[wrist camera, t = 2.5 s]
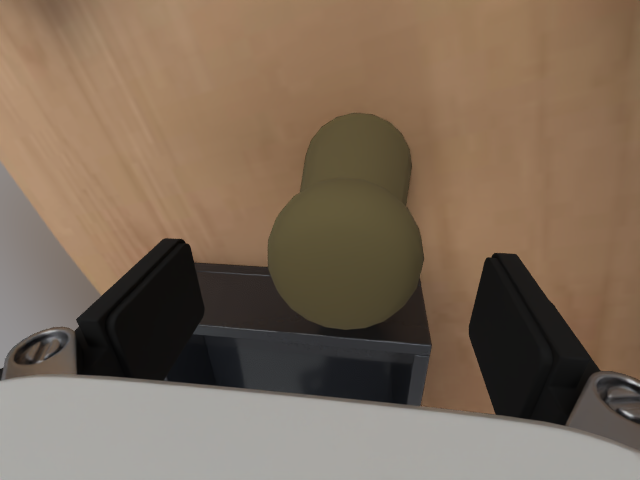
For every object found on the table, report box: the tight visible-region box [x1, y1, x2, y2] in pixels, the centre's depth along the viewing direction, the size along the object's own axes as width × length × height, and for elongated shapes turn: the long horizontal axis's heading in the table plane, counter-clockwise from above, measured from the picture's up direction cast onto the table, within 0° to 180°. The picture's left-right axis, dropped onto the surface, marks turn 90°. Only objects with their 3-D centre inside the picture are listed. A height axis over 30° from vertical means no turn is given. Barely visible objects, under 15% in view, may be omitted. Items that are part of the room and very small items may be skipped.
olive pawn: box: [268, 113, 424, 330], centre depth 15 cm, size 6×6×11 cm
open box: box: [164, 263, 432, 406], centre depth 25 cm, size 14×17×6 cm
